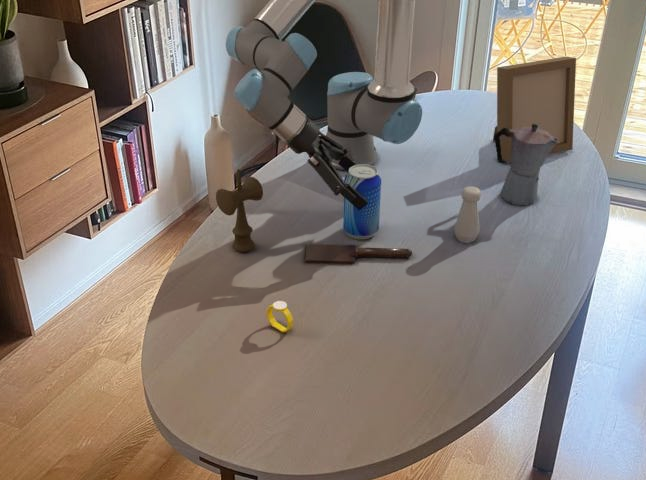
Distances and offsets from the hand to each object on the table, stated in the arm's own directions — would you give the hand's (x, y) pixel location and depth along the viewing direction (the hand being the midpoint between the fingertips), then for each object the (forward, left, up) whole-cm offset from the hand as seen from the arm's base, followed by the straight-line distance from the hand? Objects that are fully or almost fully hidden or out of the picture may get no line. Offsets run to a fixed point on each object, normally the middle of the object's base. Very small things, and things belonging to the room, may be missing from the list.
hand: (362, 191), depth 188 cm
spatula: (+8, +7, -11) cm, 15 cm away
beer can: (0, 0, -11) cm, 11 cm away
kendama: (+25, -14, -11) cm, 30 cm away
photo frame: (-65, +1, -11) cm, 66 cm away
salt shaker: (-15, +19, -11) cm, 27 cm away
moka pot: (-40, +16, -11) cm, 45 cm away
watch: (+39, +14, -11) cm, 43 cm away
